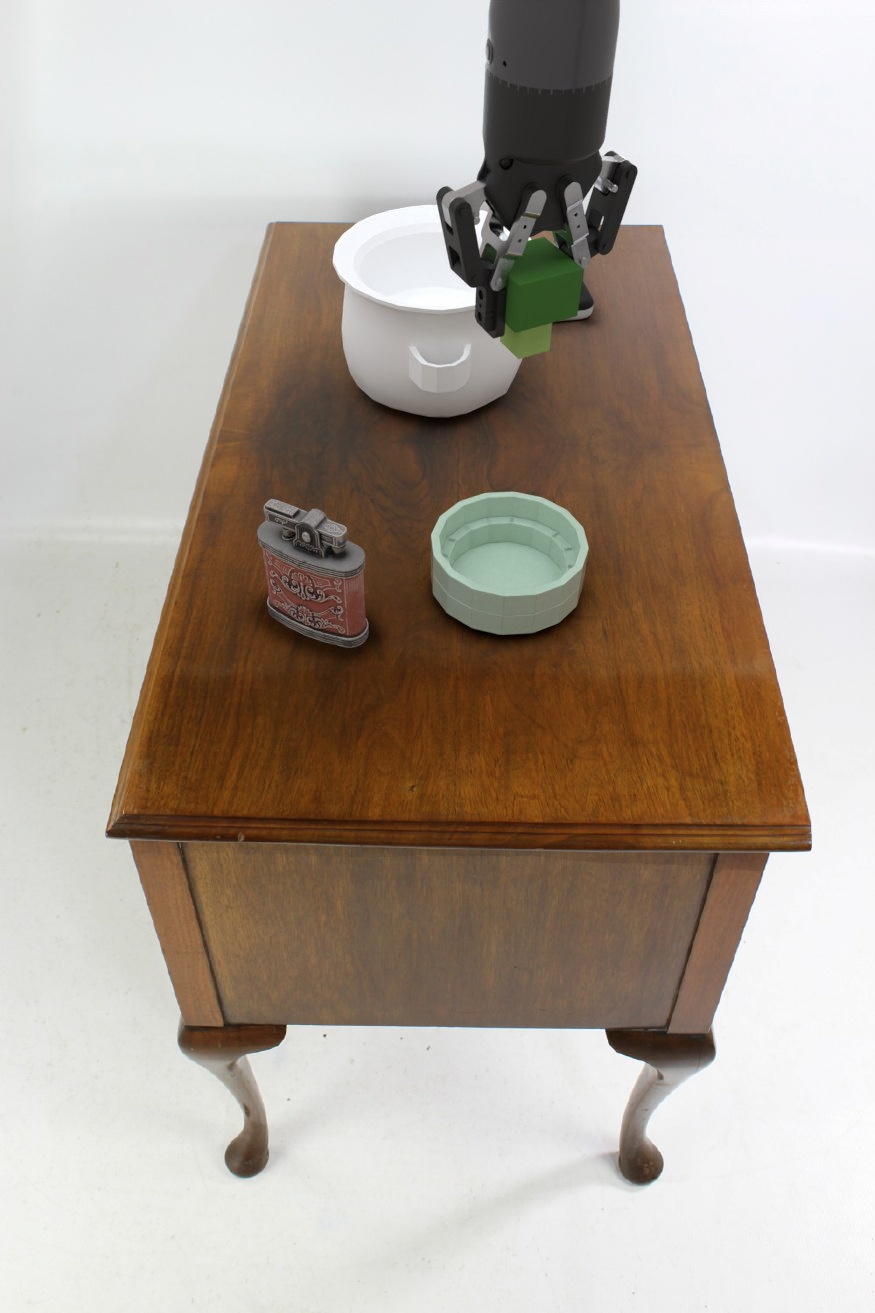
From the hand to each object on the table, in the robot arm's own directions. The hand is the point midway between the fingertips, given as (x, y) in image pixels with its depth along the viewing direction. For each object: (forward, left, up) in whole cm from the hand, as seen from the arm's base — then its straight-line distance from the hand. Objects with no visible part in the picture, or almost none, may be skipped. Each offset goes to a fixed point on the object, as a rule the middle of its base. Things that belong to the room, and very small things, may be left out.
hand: (527, 321), depth 75 cm
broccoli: (0, 0, -2) cm, 2 cm away
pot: (-3, -19, -16) cm, 25 cm away
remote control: (-21, -28, -16) cm, 38 cm away
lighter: (+19, +5, -16) cm, 26 cm away
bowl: (+5, +8, -16) cm, 19 cm away
